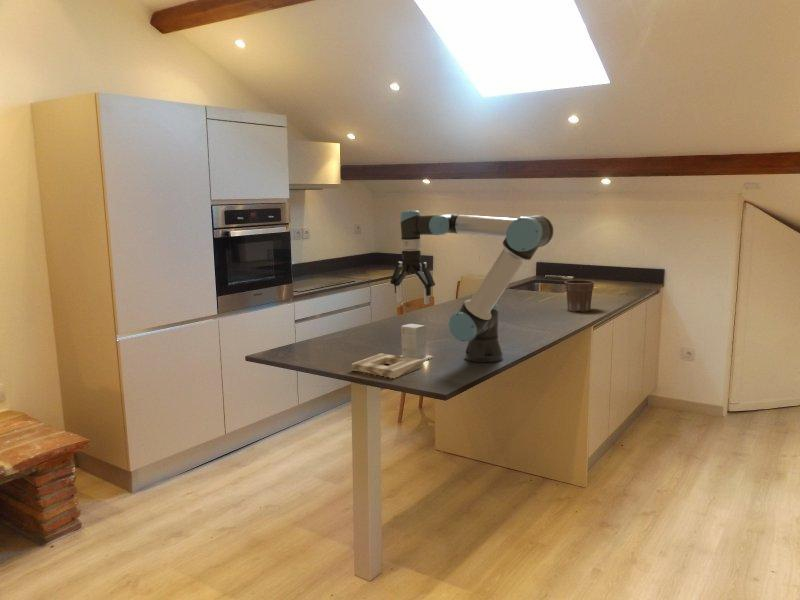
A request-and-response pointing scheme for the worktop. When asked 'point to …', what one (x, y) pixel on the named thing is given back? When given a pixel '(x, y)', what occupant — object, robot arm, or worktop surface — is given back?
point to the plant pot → (579, 295)
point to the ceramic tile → (425, 358)
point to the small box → (413, 341)
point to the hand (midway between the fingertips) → (412, 302)
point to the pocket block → (394, 370)
